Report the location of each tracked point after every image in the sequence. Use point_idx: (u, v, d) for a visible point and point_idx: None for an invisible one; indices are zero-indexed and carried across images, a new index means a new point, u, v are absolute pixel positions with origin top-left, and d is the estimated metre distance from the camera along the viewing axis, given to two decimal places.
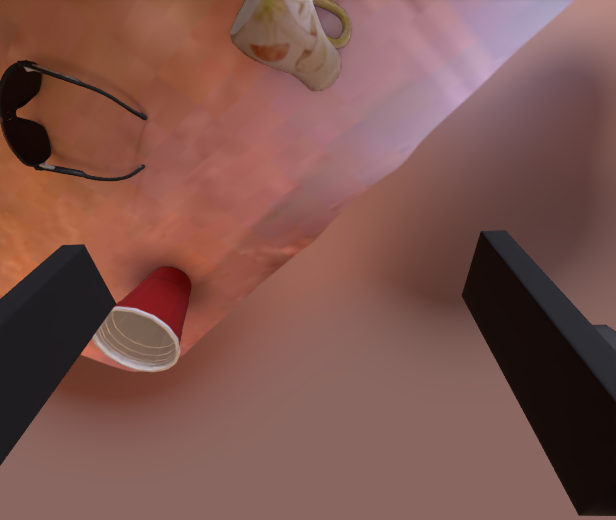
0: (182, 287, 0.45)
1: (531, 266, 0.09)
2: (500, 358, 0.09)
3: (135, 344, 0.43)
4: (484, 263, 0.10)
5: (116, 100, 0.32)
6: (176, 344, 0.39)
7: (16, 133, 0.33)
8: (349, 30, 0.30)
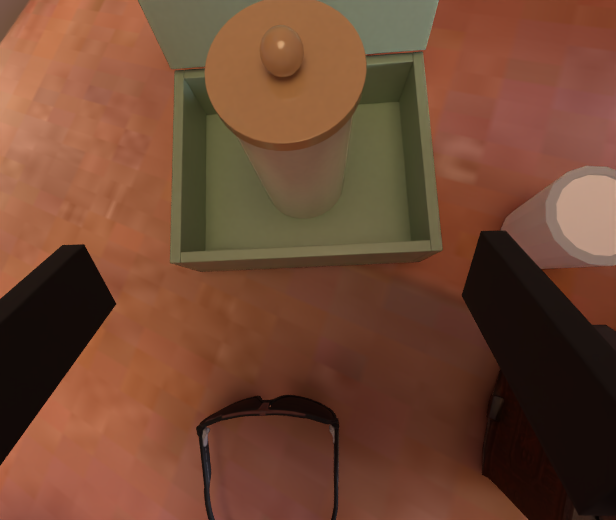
0: None
1: (531, 266, 0.09)
2: (500, 358, 0.09)
3: None
4: (484, 263, 0.10)
5: None
6: None
7: None
8: None
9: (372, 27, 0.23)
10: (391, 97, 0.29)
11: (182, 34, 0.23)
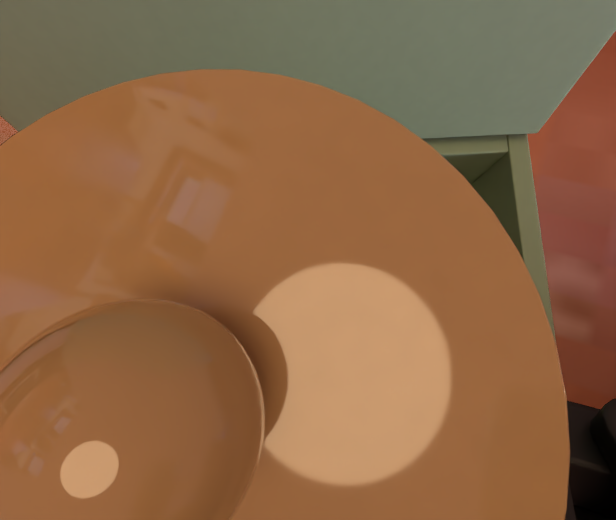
0: None
1: None
2: None
3: None
4: None
5: None
6: None
7: None
8: None
9: (442, 95, 0.11)
10: None
11: (45, 102, 0.11)
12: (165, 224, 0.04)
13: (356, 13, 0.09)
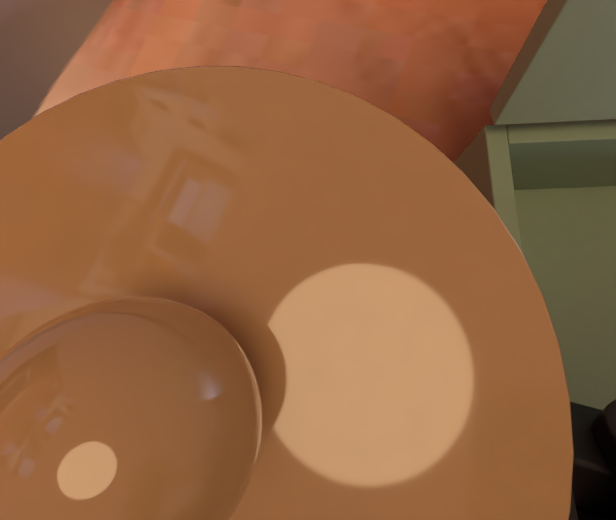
0: None
1: None
2: None
3: None
4: None
5: None
6: None
7: None
8: None
9: None
10: None
11: (605, 53, 0.09)
12: (162, 222, 0.04)
13: None
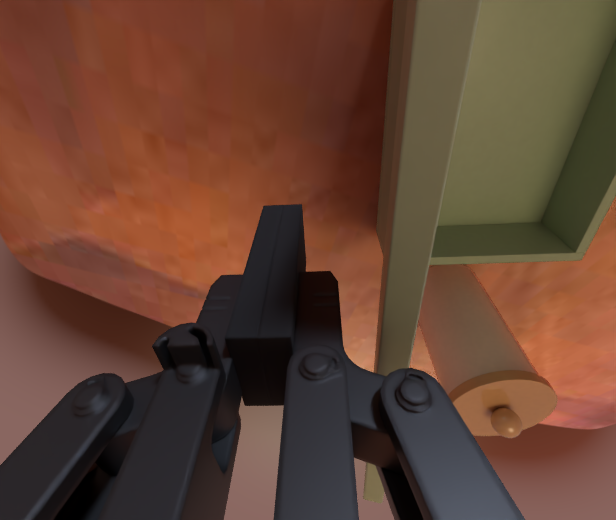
0: None
1: (294, 229, 0.11)
2: None
3: None
4: None
5: None
6: None
7: None
8: None
9: None
10: None
11: None
12: (473, 413, 0.25)
13: None
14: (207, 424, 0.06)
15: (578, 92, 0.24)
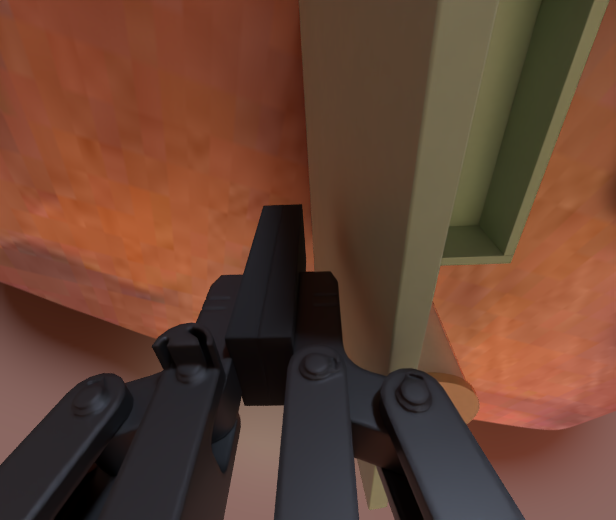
0: None
1: (294, 229, 0.11)
2: None
3: None
4: None
5: None
6: None
7: None
8: None
9: None
10: None
11: None
12: None
13: None
14: (207, 424, 0.06)
15: (499, 97, 0.24)
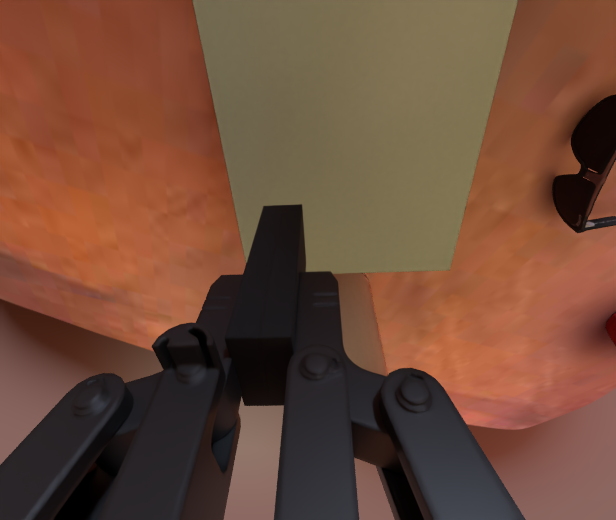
0: None
1: (294, 229, 0.11)
2: None
3: None
4: None
5: None
6: None
7: None
8: None
9: None
10: None
11: None
12: None
13: None
14: (207, 424, 0.06)
15: None
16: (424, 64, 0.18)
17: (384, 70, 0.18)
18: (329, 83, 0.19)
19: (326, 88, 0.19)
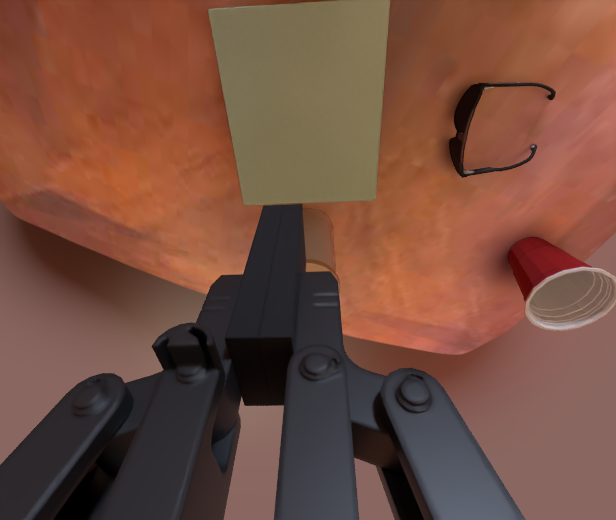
0: None
1: (294, 229, 0.11)
2: None
3: (540, 310, 0.47)
4: None
5: (548, 87, 0.36)
6: None
7: None
8: None
9: None
10: None
11: None
12: None
13: None
14: (207, 425, 0.06)
15: None
16: (341, 66, 0.32)
17: (319, 69, 0.32)
18: (289, 76, 0.33)
19: (287, 79, 0.33)
